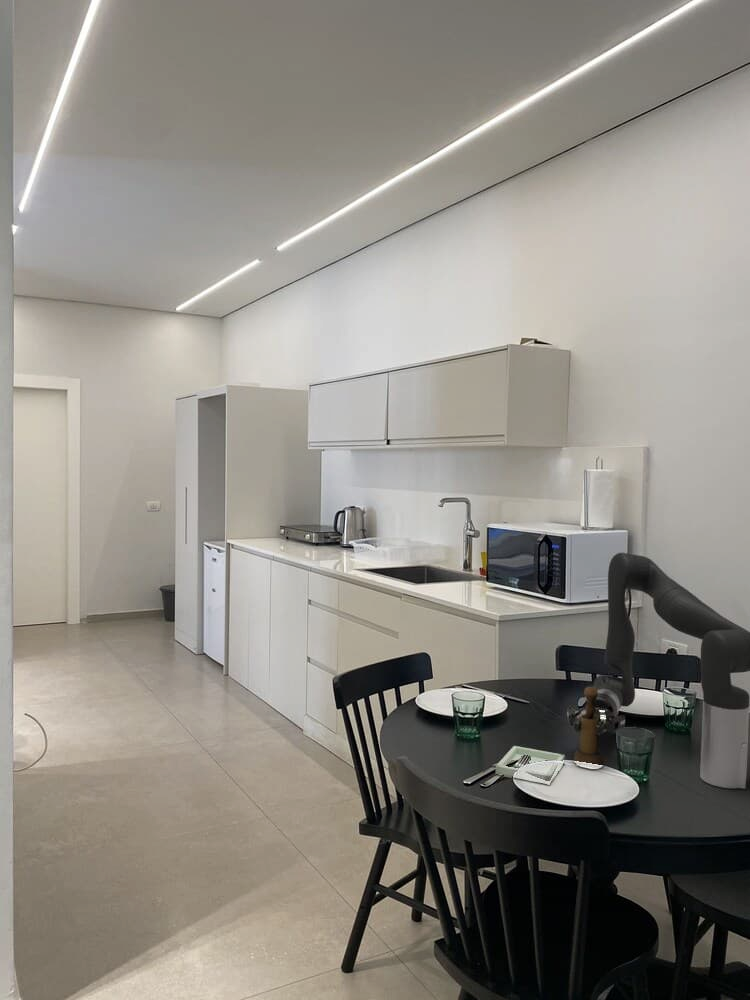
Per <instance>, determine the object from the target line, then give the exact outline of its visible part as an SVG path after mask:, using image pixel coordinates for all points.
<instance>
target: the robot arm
mask: <svg viewBox="0 0 750 1000" xmlns="http://www.w3.org/2000/svg"><path fill="white" fill-rule="evenodd" d="M607 573H608V574H607V600H608V602H607V603H608V604H607V606H608V607H607V608H608V611H607V613H608V626H607V628H608V629H607V636H606V646H605V651H604V657H603V658H604V664H605V665H606V666H608V667H611V668H613V669H615V670H617V671H619V673H620V674H621V677H617V676H613V675H607V674H600V675H598V676H597V677H596V678H595V680H594V681H593V686H592V687H595V688H596V689H597V691H598V696H597V698H596V699H595V701H594V706H595V712H594V715H597V716H598V717H599V722H598V724H597V725H596V735H598V736H600V735H603V734H604V733H605V732H607V730H608V732H611V733H614V732H617V731H619V730H620V729H619V728H621V729H623V728H625V727H626V716H625V715H623V714H621V715H619V712H620V709H621V707H626V708H627V707H629V706H631V705H632V704H633V702H634V701H635V697H636V690H635V684H634V677H633V657H634V651H635V645H636V644H635V642H636V639H635V638H636V637H635V636H636V635H635V630H634V627H633V624H632V621H631V619H630V616H629V613H628V610H627V606H626V605H627V604H626V591H627V590H628V589H629V590H633V591H639V592H642V593H644V594H646V595H648V596H649V597H651V598H652V599H653V600H652V601H653V604H652V605H653V608H654V610H655V611H654V612H655V613H656V614H657V615H658V616H659V617H660V618H661V620H663V621H664V622H665V623H667V624H668V626H670V627H671V628H673V629H674V630H676V631H678V632H680V633H682V634H685V635H688V636H690V637H693V638H697V639H699V640H701V644H700V686H701V690H702V693H703V697H702V698H703V700H702V723H701V725H702V726H701V747H700V766H699V767H700V768H699V770H700V771H699V773H700V775H699V776H700V779H701V780H702V781H703V782H705V783H707V784H709V785H712V786H715V787H719V788H724V789H742V790H743V789H746V787H747V786H746V785H747V772H748V771H747V769H748V768H747V767H748V750H749V749H748V744H749V721H750V720H749V719H750V718H749V717H750V694H749V693H748V691H746V690H745V689H743V688H741V687H738V686H735V685H734V684H733V685H732V681H731V680H732V679H731V678H732V676H731V674H738V673H746V672H750V631H748V630H747V629H745V628H743V627H742V626H740V625H738V624H737V623H734V622H733V621H731V620H729V619H727V618H726V617H724V616H723V615H721V614H720V613H718V612H717V611H716V610H714V609H713V608H712V607H710V606H709V605H708V604H706V602H705V603H704V602H703V601H702V600H700V599H699V598H698V597H697V596H696V595H695V594H693V593H692V592H690V591H689V590H688V589H686V588H685V587H684V586H682V585H680V584H679V583H678V582H676V581H675V580H674V579H673V578H671V577H669V576H668V574H666V573H665V572H664V571H663V570H662V569H661V568H660V566H658V565H657V564H656V563H655V562H654V561H653V560H652V559H650V558H649V557H648V556H647V557H646V556H643V555H638V554H632V553H627V552H617V553H616V554H615V555H613V556H612V558H611V560H610V562H609V566H608V571H607ZM586 705H587V700H586V701H585V703H584V704H583V705H582V706H583V707H582V708H579V709H578V710H576V709H574V708H573V707H571V706H569V707H568V706H567V712H566V713H567V714H566V715H567V716H566V719H567V721H568V724H569V725H570V726H573V730H575V732H576V733H580V732H581V716H582V715H584V714H587V713H586V709H585V706H586ZM618 729H619V730H618Z"/></svg>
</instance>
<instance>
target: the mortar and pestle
mask: <svg viewBox="0 0 750 1000" xmlns="http://www.w3.org/2000/svg"><path fill="white" fill-rule="evenodd" d="M583 693H584V696H585V699H586V701H587V705H586V706H585V709H586V713H587V714H584V715H582V716H581V730H580V747H579V749H577V750H576V751H574V754H573V755H574V757H573V762H574V761H579V762H586V763H592V764H598V765H604V764H605V756H604V754H603V753H602V752H601V751H600V750H599V735H596V725H597V724H598V722H599V717H598V716H597V715H594V712H595V706H594V701H595V699H596V698H597V696H598V691H597V689H596V688H595V687H593V686H592V685H591V686H587V687H585V688H584V691H583ZM604 766H605V765H604Z"/></svg>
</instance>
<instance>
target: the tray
mask: <svg viewBox="0 0 750 1000" xmlns="http://www.w3.org/2000/svg"><path fill="white" fill-rule="evenodd" d="M523 755H529V756H531V760H530V761H529V763H534V762H539V761H545V760H556V761H563V760H565V761H566V755H565V754H561V753H556V752H550V751H545V750H539V749H534V748H529V747H522V746H517V745H513V746H512V747H511V749H510V750H508V752H507V753H506V754H505V755H504V756H503V758H502V759H501V760H500V761H499V762H498V763H497V764H496V765H495V775H496V774H502V775H504V776H503V777H504V778H509V779H513V778H512V776H513V774H514V773H515V772H517V771H518V770H519V769H518V768H514V767H508V766H506V765H507V763H508V762H509V761H511V760H518V759H520V758H521V756H523ZM557 766H558V765H552V767H551V768H550V770H549V771H548V772H547V774H544V773H539V772H534V771H528V770H527V771H525V772H526V773H528V774H530V775H532V776H535V777H537V778H540V779H543V780H545V781H550V780H551V778H552V776H553V774H554V772H555V770H556V768H557Z"/></svg>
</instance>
